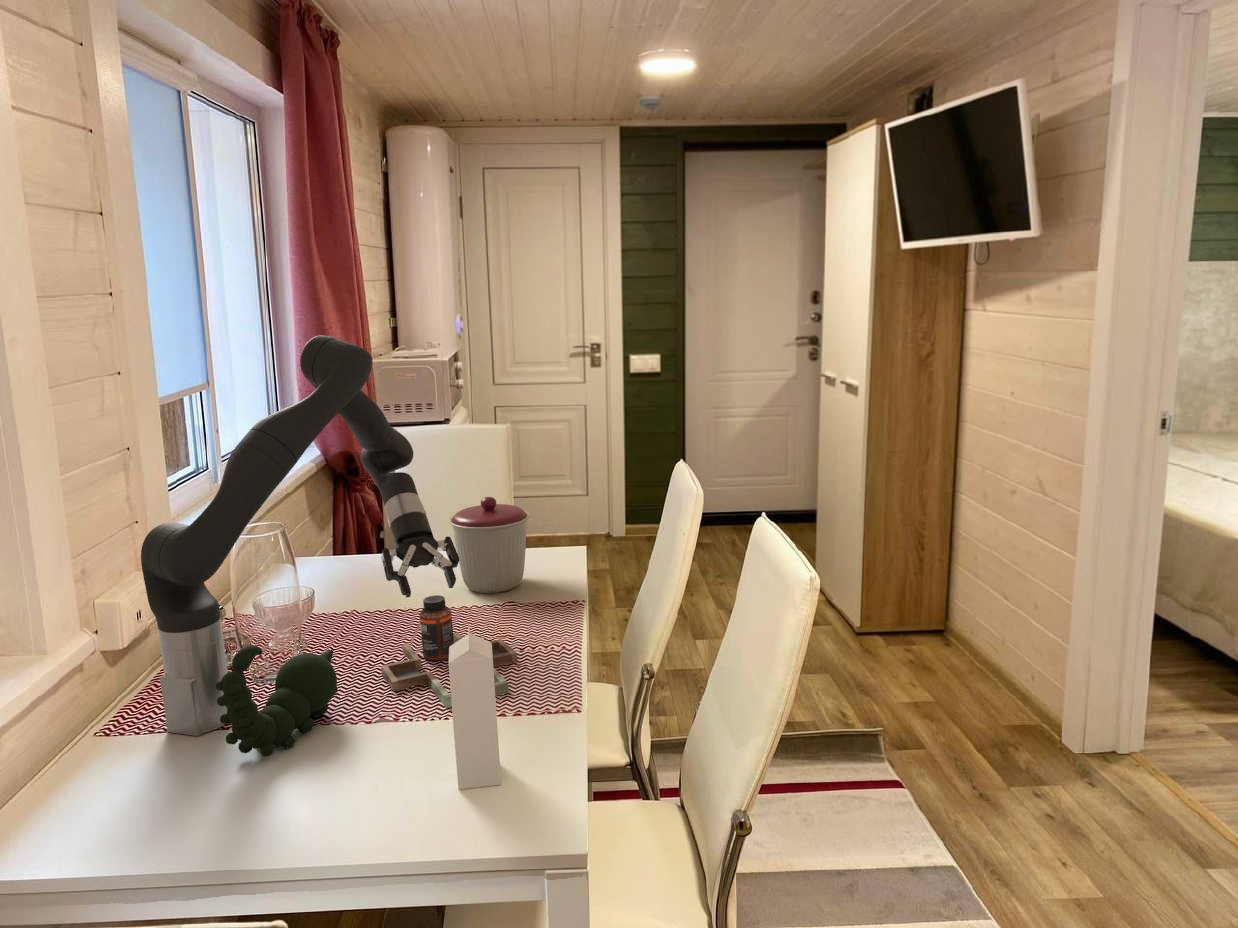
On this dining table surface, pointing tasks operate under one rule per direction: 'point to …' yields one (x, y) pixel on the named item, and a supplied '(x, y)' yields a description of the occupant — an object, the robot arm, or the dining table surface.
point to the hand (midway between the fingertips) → (430, 590)
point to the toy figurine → (276, 700)
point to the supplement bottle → (436, 628)
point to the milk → (474, 712)
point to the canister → (491, 545)
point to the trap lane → (409, 676)
